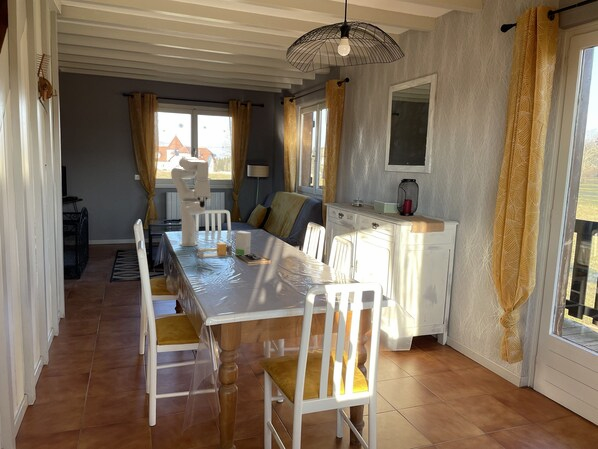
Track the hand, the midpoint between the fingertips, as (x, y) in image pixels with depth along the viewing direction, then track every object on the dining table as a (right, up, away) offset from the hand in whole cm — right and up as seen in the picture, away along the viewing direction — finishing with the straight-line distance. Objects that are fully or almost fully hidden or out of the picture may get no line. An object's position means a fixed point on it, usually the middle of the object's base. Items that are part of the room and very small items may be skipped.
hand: (202, 207), depth 300 cm
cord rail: (+10, -32, -8) cm, 35 cm away
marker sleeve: (+14, -32, -6) cm, 35 cm away
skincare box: (+28, -32, -3) cm, 43 cm away
